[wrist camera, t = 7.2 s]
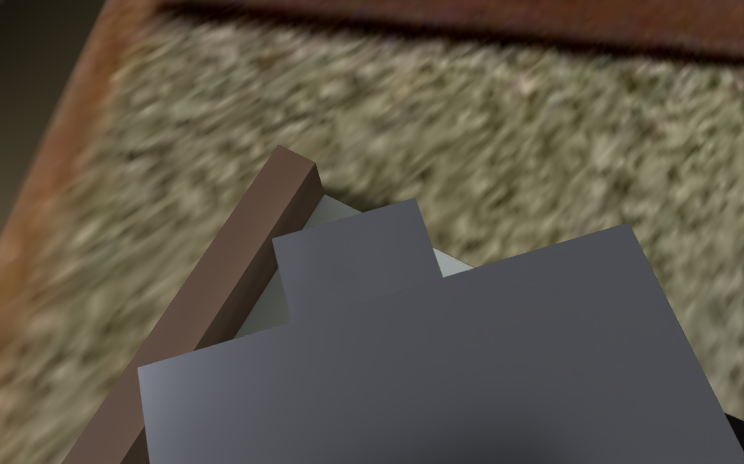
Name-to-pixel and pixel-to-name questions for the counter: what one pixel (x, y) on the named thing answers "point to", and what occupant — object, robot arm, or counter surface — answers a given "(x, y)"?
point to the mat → (273, 300)
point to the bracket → (445, 361)
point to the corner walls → (208, 300)
